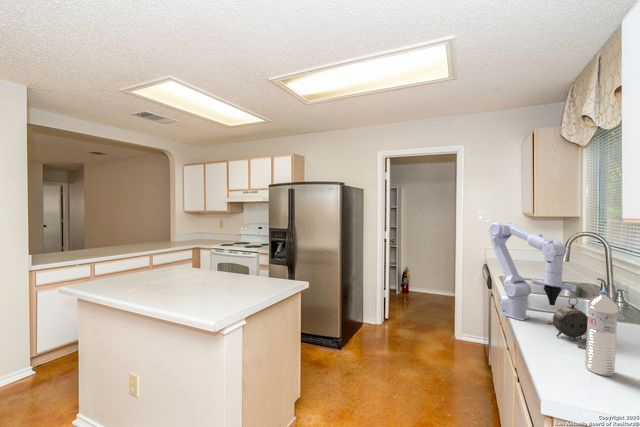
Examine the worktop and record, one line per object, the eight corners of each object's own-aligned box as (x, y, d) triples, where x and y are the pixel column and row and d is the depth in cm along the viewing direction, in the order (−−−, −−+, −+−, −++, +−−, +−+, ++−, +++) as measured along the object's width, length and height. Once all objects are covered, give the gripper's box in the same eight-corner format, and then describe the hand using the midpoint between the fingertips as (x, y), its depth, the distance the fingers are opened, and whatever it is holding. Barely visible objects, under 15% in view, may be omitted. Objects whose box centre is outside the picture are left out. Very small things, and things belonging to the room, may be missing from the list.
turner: (547, 324, 133) (547, 321, 133) (550, 321, 135) (550, 319, 135) (589, 335, 122) (589, 333, 122) (592, 332, 124) (592, 330, 124)
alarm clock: (581, 336, 121) (583, 295, 120) (591, 342, 115) (594, 300, 115) (551, 335, 122) (553, 294, 121) (560, 341, 116) (562, 298, 116)
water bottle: (584, 362, 100) (588, 287, 99) (613, 370, 96) (617, 291, 95) (585, 371, 95) (589, 291, 94) (615, 380, 91) (620, 296, 90)
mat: (577, 347, 111) (577, 346, 111) (587, 337, 120) (587, 336, 120) (607, 356, 105) (607, 355, 105) (615, 345, 114) (615, 344, 114)
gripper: (578, 273, 123) (577, 307, 123) (535, 267, 134) (534, 298, 135) (573, 276, 119) (572, 311, 119) (530, 269, 130) (529, 301, 130)
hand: (552, 304), depth 127 cm, fingers closed
